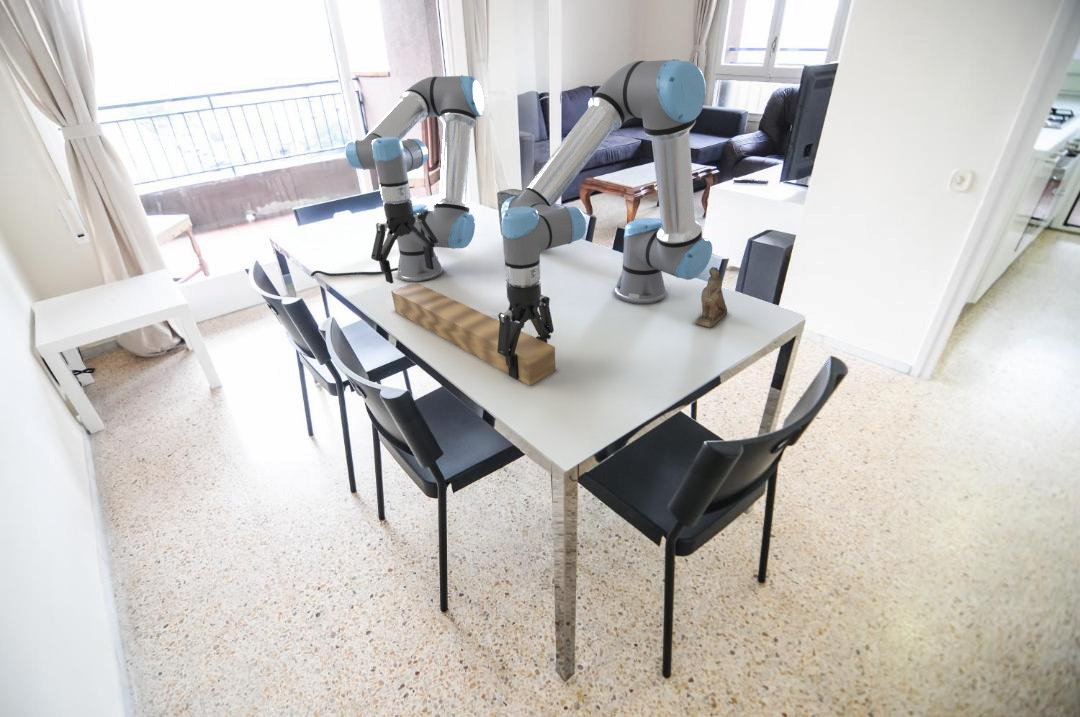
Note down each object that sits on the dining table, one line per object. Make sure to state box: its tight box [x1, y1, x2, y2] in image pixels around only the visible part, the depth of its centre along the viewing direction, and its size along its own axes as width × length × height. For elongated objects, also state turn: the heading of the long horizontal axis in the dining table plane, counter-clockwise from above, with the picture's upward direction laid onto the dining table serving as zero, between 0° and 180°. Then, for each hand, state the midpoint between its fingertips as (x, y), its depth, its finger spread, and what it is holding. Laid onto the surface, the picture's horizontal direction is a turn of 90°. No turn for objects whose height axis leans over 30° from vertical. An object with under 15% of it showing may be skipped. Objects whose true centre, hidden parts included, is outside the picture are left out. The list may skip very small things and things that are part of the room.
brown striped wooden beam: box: [391, 281, 556, 386], centre depth 133 cm, size 59×9×7 cm, turn 45°
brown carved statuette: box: [695, 266, 728, 328], centre depth 135 cm, size 12×6×18 cm, turn 136°
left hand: (410, 275), depth 144 cm, fingers open, 13 cm apart
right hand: (528, 368), depth 120 cm, fingers closed on brown striped wooden beam, 9 cm apart
